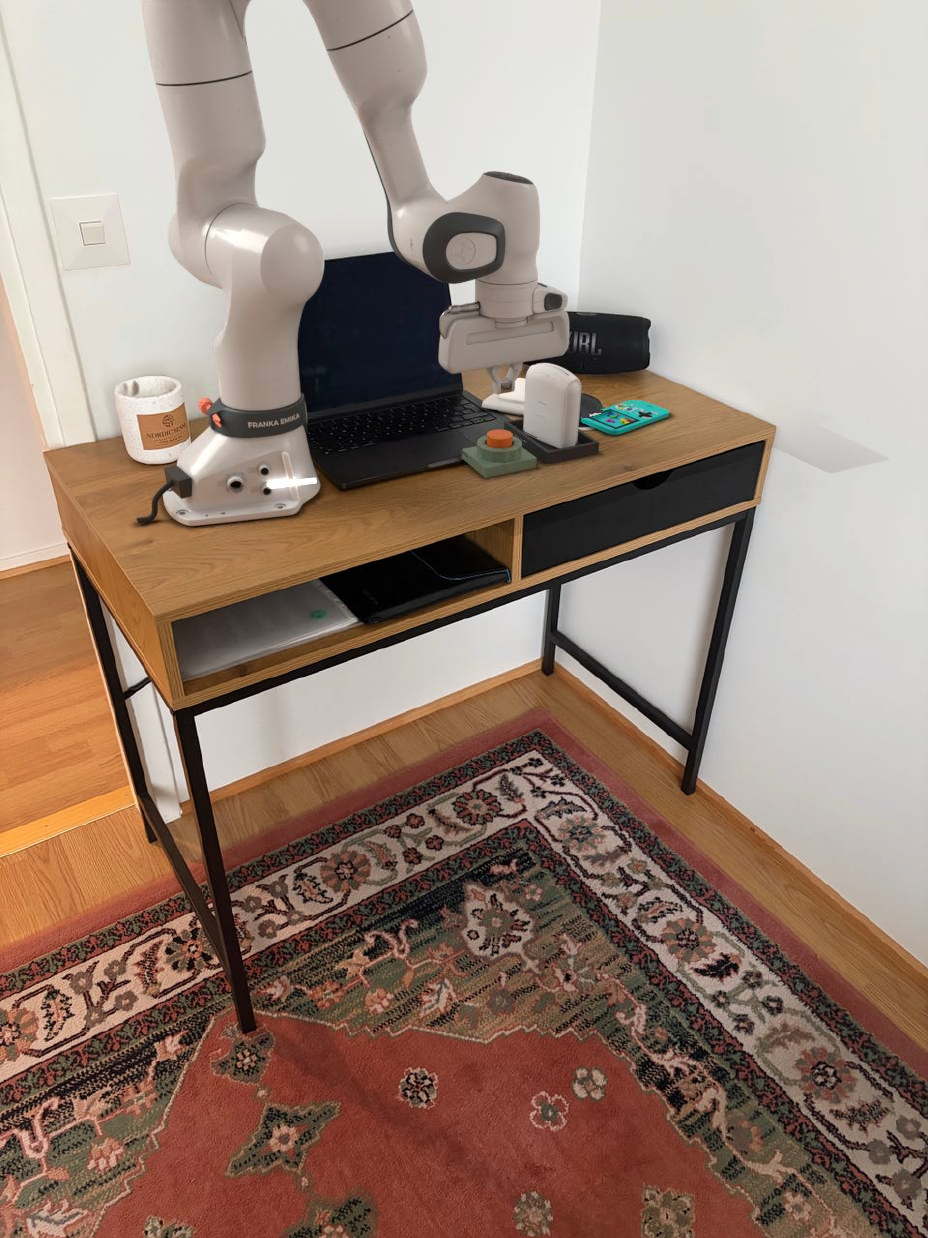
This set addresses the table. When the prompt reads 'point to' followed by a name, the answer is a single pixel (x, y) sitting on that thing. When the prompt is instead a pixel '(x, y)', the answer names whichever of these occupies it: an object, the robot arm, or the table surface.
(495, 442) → the button
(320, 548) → the table surface
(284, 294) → the robot arm
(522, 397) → the light switch
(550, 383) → the photo printer
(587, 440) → the tray
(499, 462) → the button housing
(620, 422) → the handheld gaming console
